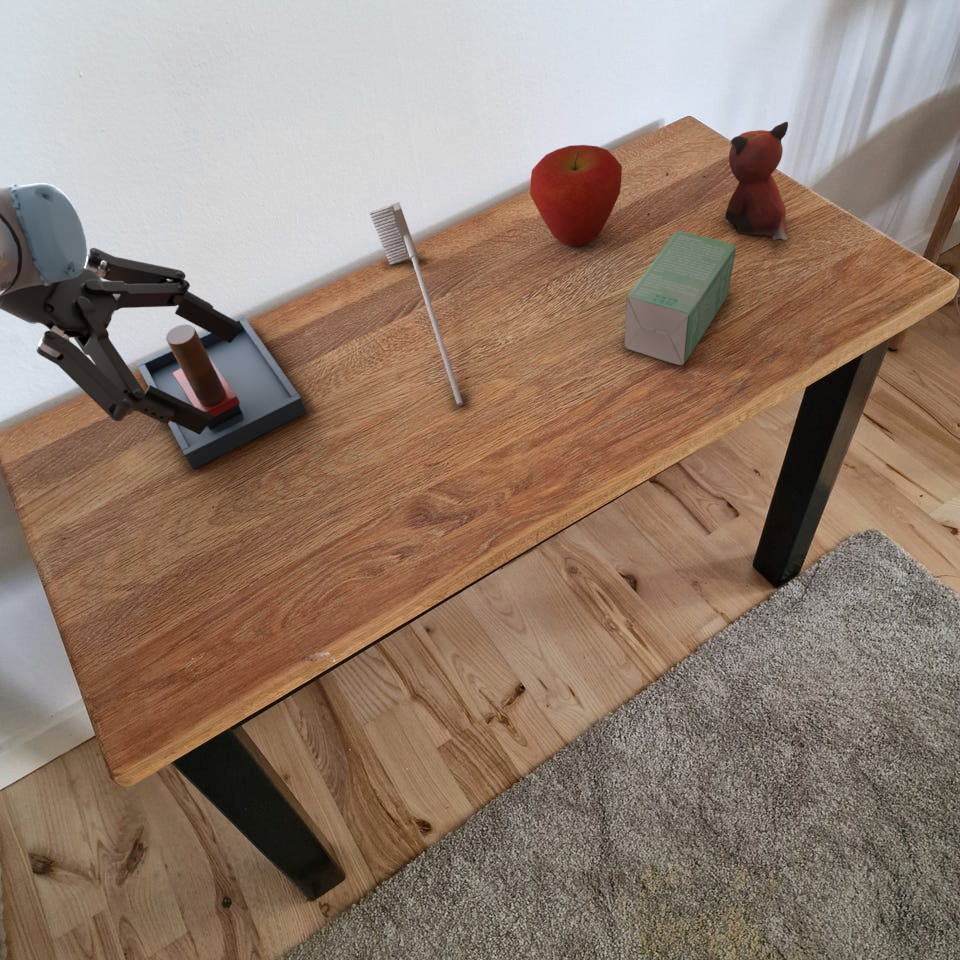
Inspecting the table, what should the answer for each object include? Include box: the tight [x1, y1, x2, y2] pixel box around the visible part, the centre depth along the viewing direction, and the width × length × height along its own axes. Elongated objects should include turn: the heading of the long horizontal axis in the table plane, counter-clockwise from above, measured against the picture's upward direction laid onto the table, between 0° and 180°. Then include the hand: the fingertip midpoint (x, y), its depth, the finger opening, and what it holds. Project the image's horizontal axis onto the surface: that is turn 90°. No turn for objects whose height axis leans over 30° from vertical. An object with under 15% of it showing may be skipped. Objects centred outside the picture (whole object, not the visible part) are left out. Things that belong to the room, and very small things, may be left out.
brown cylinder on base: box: [165, 324, 242, 429], centre depth 89 cm, size 8×4×12 cm, turn 34°
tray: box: [136, 314, 307, 469], centre depth 94 cm, size 18×14×2 cm
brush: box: [369, 201, 464, 407], centre depth 96 cm, size 4×28×9 cm, turn 13°
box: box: [623, 231, 737, 366], centre depth 92 cm, size 7×14×8 cm, turn 149°
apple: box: [529, 144, 623, 248], centre depth 102 cm, size 11×11×12 cm
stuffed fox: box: [724, 121, 789, 242], centre depth 99 cm, size 8×11×12 cm
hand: (222, 377), depth 87 cm, fingers open, 13 cm apart
